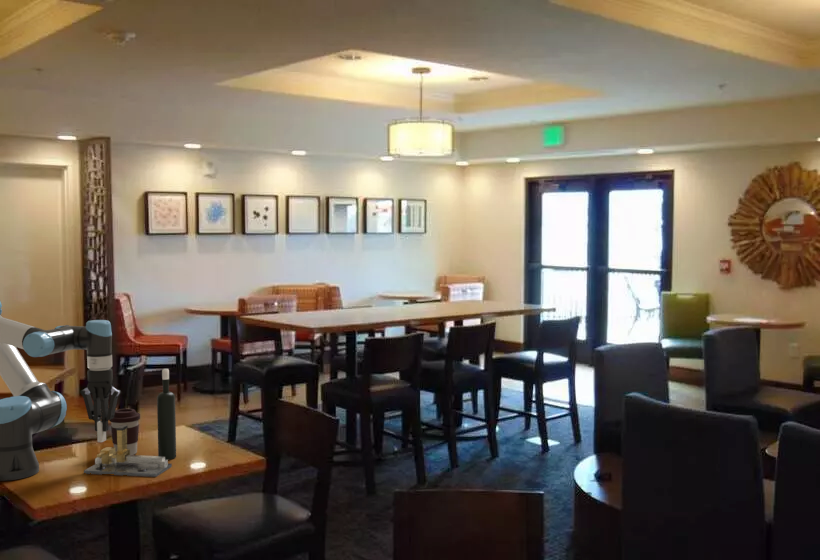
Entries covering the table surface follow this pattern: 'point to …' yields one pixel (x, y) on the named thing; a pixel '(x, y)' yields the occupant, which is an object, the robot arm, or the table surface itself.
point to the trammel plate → (128, 464)
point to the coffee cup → (131, 420)
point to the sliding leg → (121, 445)
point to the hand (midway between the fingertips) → (101, 441)
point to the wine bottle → (166, 420)
